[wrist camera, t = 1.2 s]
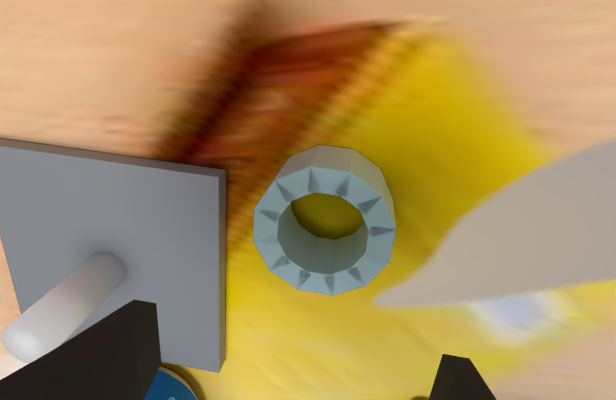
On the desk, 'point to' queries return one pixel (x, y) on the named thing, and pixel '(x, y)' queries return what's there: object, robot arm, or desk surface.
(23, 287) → the post base
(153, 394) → the beverage can
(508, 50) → the desk surface
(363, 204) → the flange ring
